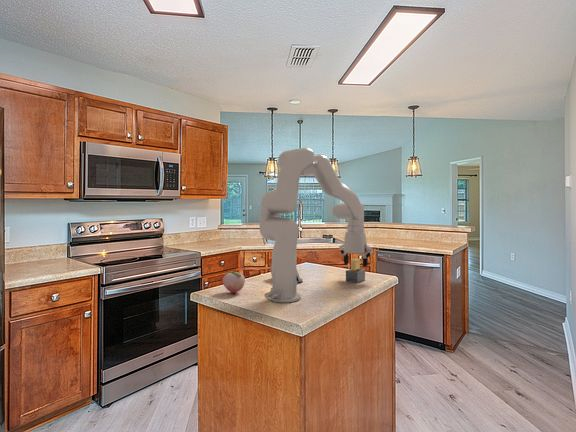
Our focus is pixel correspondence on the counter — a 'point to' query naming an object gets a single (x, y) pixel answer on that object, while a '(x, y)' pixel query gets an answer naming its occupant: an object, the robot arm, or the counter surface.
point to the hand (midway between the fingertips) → (355, 265)
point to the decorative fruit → (233, 281)
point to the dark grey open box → (355, 275)
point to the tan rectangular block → (355, 265)
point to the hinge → (297, 276)
